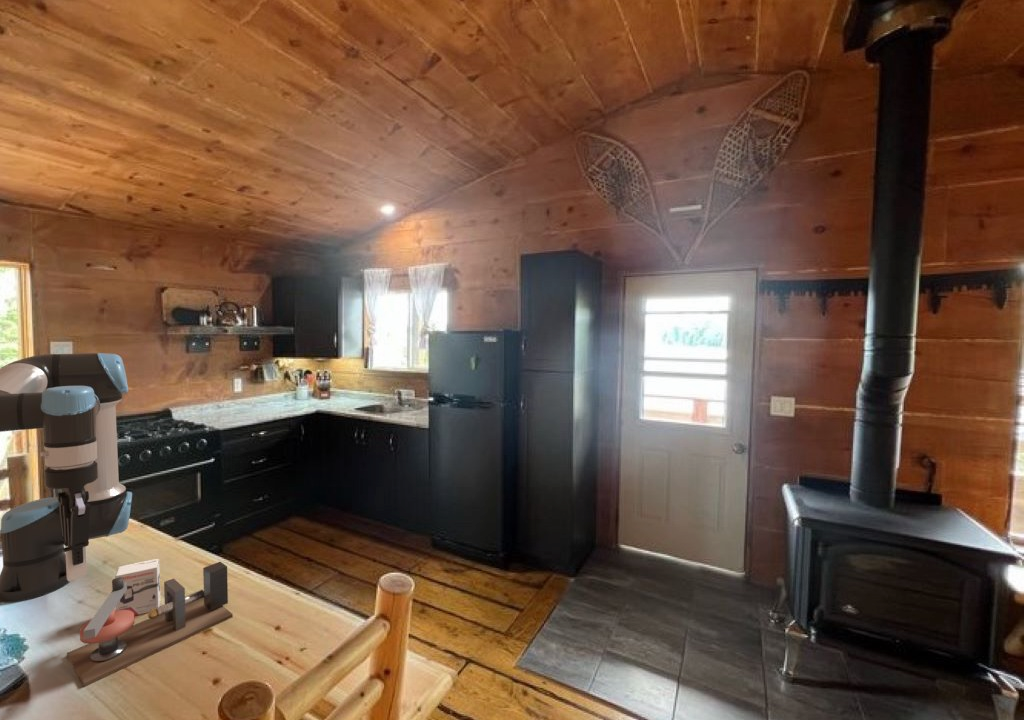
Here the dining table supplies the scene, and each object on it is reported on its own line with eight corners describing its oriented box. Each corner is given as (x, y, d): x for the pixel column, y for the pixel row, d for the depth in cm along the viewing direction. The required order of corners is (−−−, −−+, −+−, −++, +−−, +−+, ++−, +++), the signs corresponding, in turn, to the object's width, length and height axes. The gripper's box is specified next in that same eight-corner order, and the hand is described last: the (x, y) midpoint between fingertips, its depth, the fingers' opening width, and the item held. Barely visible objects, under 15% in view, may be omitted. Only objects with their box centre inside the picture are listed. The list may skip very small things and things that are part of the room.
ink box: (115, 621, 112) (113, 575, 111) (119, 610, 116) (117, 566, 116) (159, 610, 117) (157, 566, 116) (160, 600, 121) (159, 557, 120)
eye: (165, 619, 112) (164, 581, 111) (174, 615, 114) (173, 578, 113) (175, 631, 108) (174, 591, 107) (185, 626, 110) (184, 588, 109)
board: (67, 656, 100) (66, 652, 100) (208, 596, 123) (208, 593, 123) (84, 686, 92) (84, 682, 92) (232, 616, 115) (232, 613, 115)
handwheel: (61, 663, 90) (59, 624, 90) (98, 610, 107) (97, 577, 106) (118, 650, 94) (117, 614, 93) (146, 601, 110) (145, 570, 110)
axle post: (87, 654, 100) (86, 632, 100) (121, 639, 105) (121, 618, 105) (94, 666, 97) (93, 644, 96) (130, 650, 101) (129, 629, 101)
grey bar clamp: (145, 629, 108) (144, 589, 107) (221, 597, 121) (220, 561, 120) (151, 636, 105) (150, 595, 105) (227, 603, 119) (227, 566, 118)
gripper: (37, 461, 91) (43, 574, 93) (53, 475, 84) (58, 598, 85) (87, 453, 97) (92, 559, 99) (106, 466, 90) (110, 580, 91)
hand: (76, 577), depth 92 cm, fingers closed
